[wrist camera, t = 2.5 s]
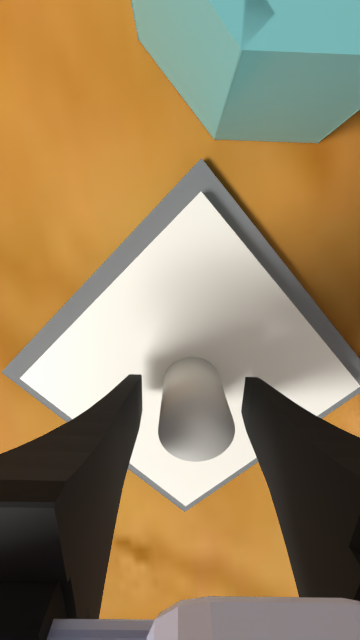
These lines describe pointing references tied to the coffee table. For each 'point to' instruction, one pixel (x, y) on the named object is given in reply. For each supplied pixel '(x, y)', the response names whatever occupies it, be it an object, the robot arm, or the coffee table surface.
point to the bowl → (258, 63)
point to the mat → (135, 244)
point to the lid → (191, 352)
